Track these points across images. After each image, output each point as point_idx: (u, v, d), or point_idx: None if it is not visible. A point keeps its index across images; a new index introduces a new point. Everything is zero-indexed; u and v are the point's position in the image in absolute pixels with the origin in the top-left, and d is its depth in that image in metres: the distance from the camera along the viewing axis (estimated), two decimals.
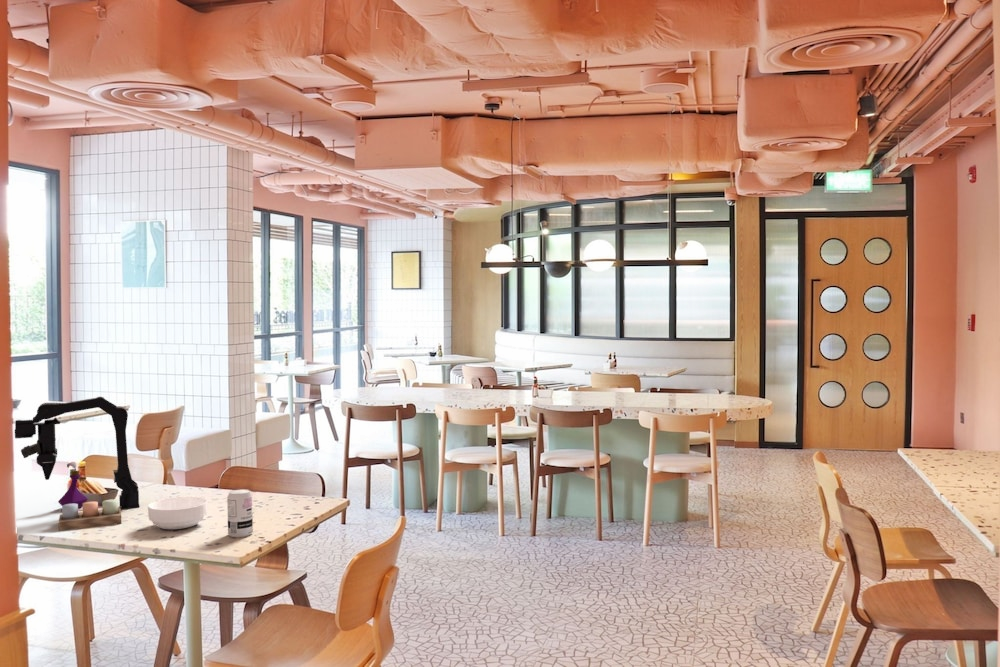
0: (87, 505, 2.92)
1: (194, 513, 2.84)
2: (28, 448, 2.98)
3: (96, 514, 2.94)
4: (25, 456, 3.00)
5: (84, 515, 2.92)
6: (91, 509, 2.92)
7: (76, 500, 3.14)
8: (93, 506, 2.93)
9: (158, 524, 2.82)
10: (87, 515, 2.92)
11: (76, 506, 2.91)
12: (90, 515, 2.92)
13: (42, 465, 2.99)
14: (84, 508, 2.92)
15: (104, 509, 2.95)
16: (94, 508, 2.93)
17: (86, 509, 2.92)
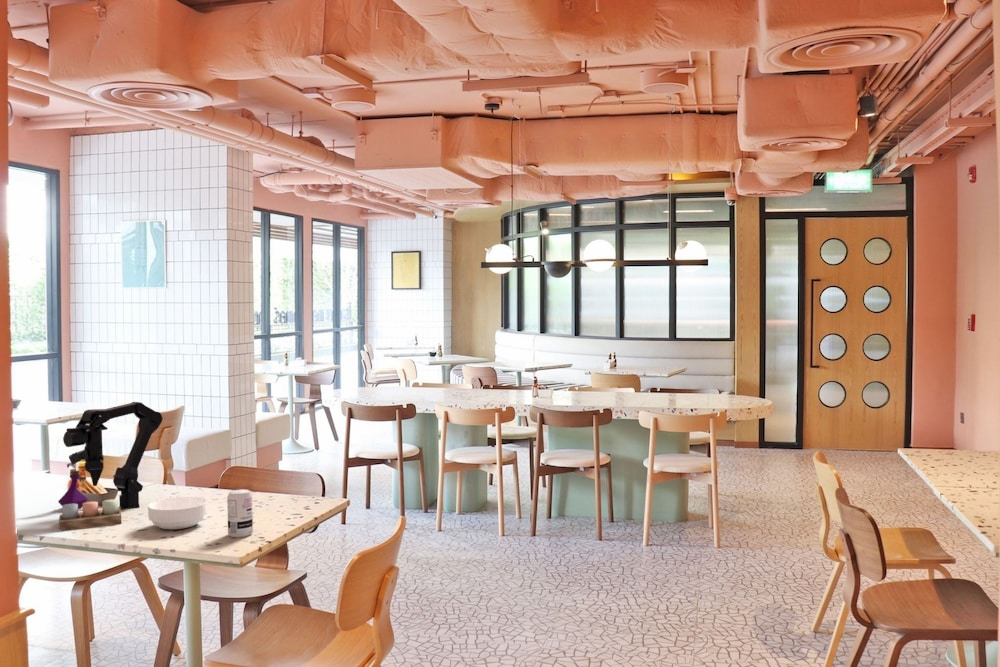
0: (87, 505, 2.92)
1: (194, 513, 2.84)
2: (76, 455, 2.99)
3: (96, 514, 2.94)
4: (73, 463, 3.00)
5: (84, 515, 2.92)
6: (91, 509, 2.92)
7: (76, 500, 3.14)
8: (93, 506, 2.93)
9: (158, 524, 2.82)
10: (87, 515, 2.92)
11: (76, 506, 2.91)
12: (90, 515, 2.92)
13: (90, 471, 2.99)
14: (84, 508, 2.92)
15: (104, 509, 2.95)
16: (94, 508, 2.93)
17: (86, 509, 2.92)
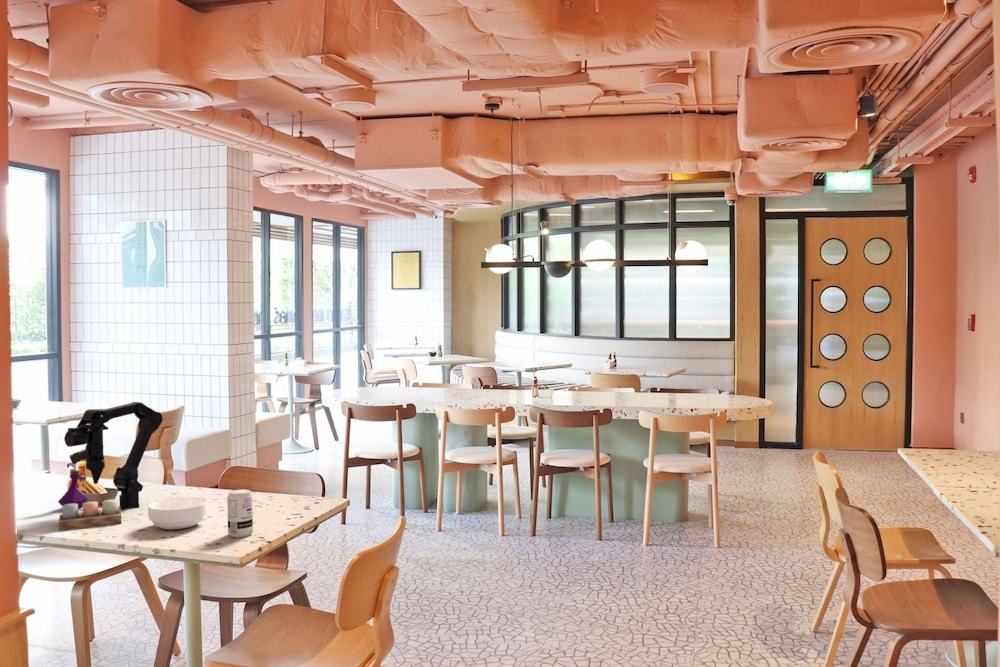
0: (87, 505, 2.92)
1: (194, 513, 2.84)
2: (77, 454, 2.99)
3: (96, 514, 2.94)
4: (74, 462, 3.00)
5: (84, 515, 2.92)
6: (91, 509, 2.92)
7: (76, 500, 3.14)
8: (93, 506, 2.93)
9: (158, 524, 2.82)
10: (87, 515, 2.92)
11: (76, 506, 2.91)
12: (90, 515, 2.92)
13: (91, 469, 3.03)
14: (84, 508, 2.92)
15: (104, 509, 2.95)
16: (94, 508, 2.93)
17: (86, 509, 2.92)
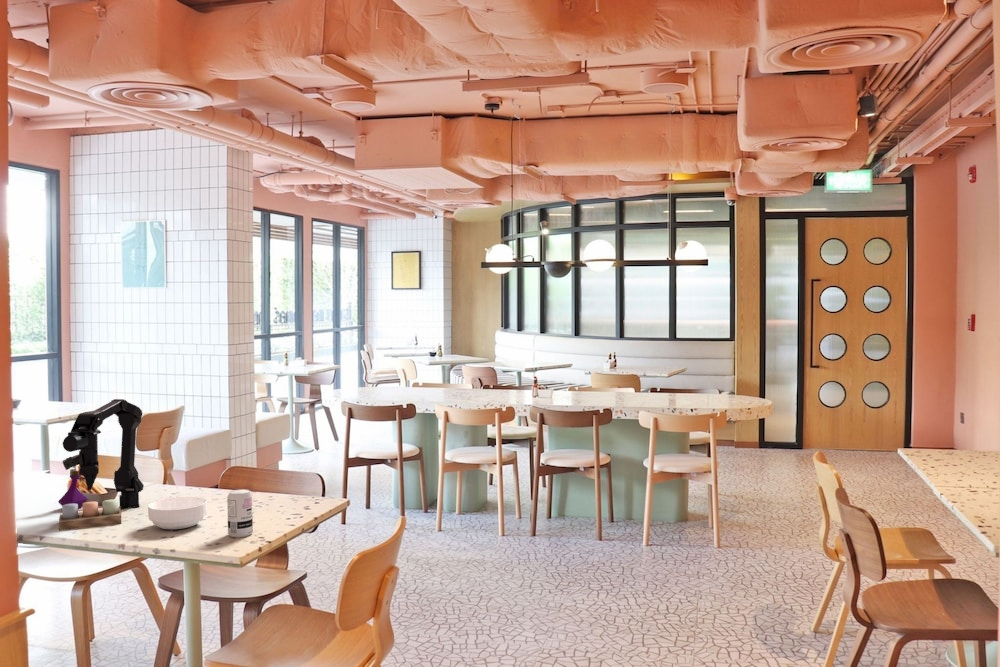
0: (87, 505, 2.92)
1: (194, 513, 2.84)
2: (70, 459, 2.88)
3: (96, 514, 2.94)
4: (67, 468, 2.89)
5: (84, 515, 2.92)
6: (91, 509, 2.92)
7: (76, 500, 3.14)
8: (93, 506, 2.93)
9: (158, 524, 2.82)
10: (87, 515, 2.92)
11: (76, 506, 2.91)
12: (90, 515, 2.92)
13: (85, 475, 2.92)
14: (84, 508, 2.92)
15: (104, 509, 2.95)
16: (94, 508, 2.93)
17: (86, 509, 2.92)
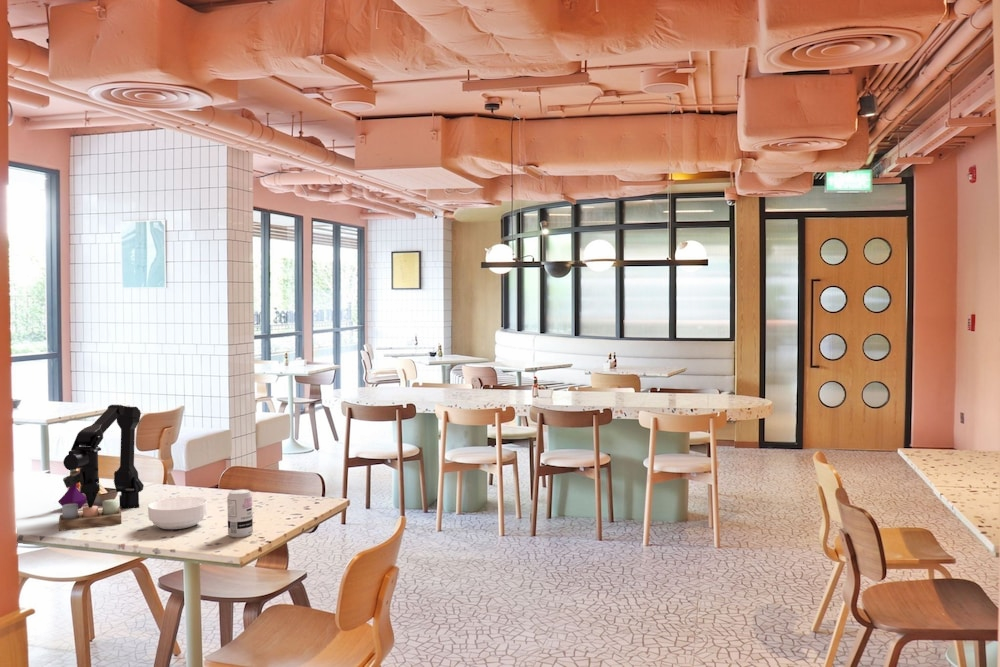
0: (87, 509, 2.92)
1: (194, 513, 2.84)
2: (71, 477, 2.87)
3: None
4: (68, 486, 2.89)
5: None
6: (91, 513, 2.92)
7: (76, 500, 3.14)
8: (93, 510, 2.93)
9: (158, 524, 2.82)
10: None
11: (76, 506, 2.91)
12: None
13: (85, 493, 2.92)
14: (84, 512, 2.92)
15: (104, 509, 2.95)
16: (94, 512, 2.93)
17: (86, 513, 2.92)
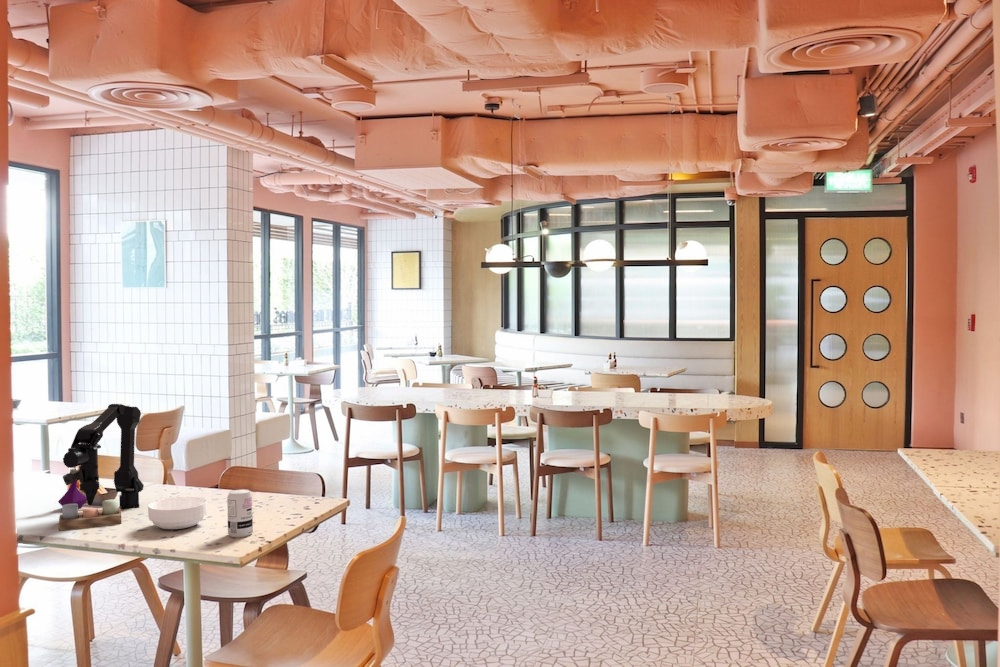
0: (87, 512, 2.92)
1: (194, 513, 2.84)
2: (71, 475, 2.87)
3: None
4: (67, 483, 2.89)
5: None
6: (91, 516, 2.92)
7: (76, 500, 3.14)
8: (93, 513, 2.93)
9: (158, 524, 2.82)
10: None
11: (76, 506, 2.91)
12: None
13: (85, 490, 2.91)
14: (84, 515, 2.92)
15: (104, 509, 2.95)
16: (94, 514, 2.93)
17: (86, 516, 2.92)
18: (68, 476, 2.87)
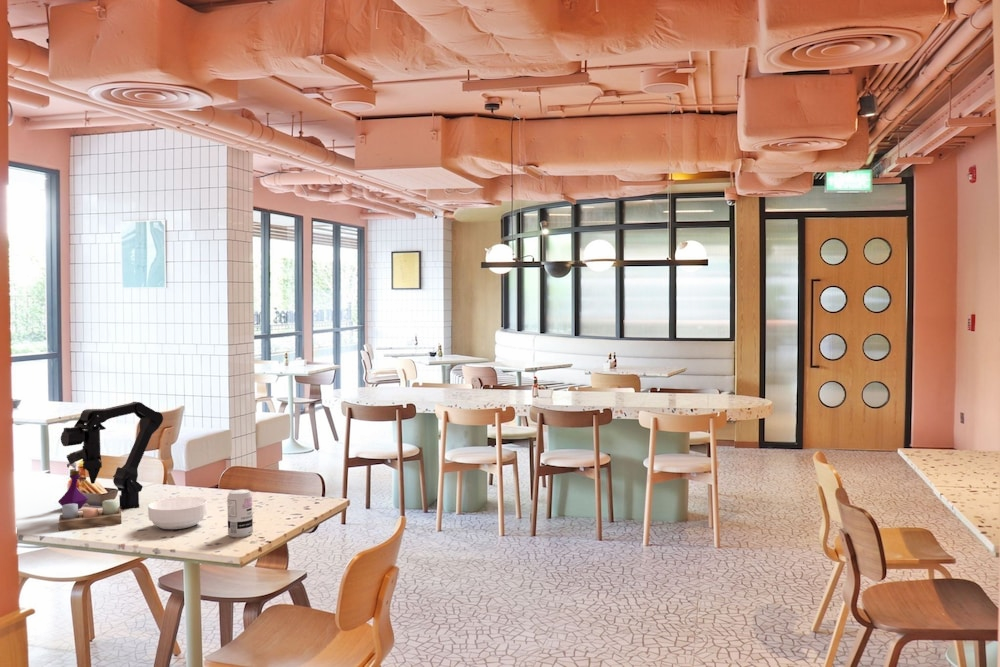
0: (87, 512, 2.92)
1: (194, 513, 2.84)
2: (74, 454, 2.99)
3: None
4: (71, 462, 3.00)
5: None
6: (91, 516, 2.92)
7: (76, 500, 3.14)
8: (93, 513, 2.93)
9: (158, 524, 2.82)
10: None
11: (76, 506, 2.91)
12: None
13: (88, 469, 3.03)
14: (84, 515, 2.92)
15: (104, 509, 2.95)
16: (94, 514, 2.93)
17: (86, 516, 2.92)
18: (72, 455, 2.99)
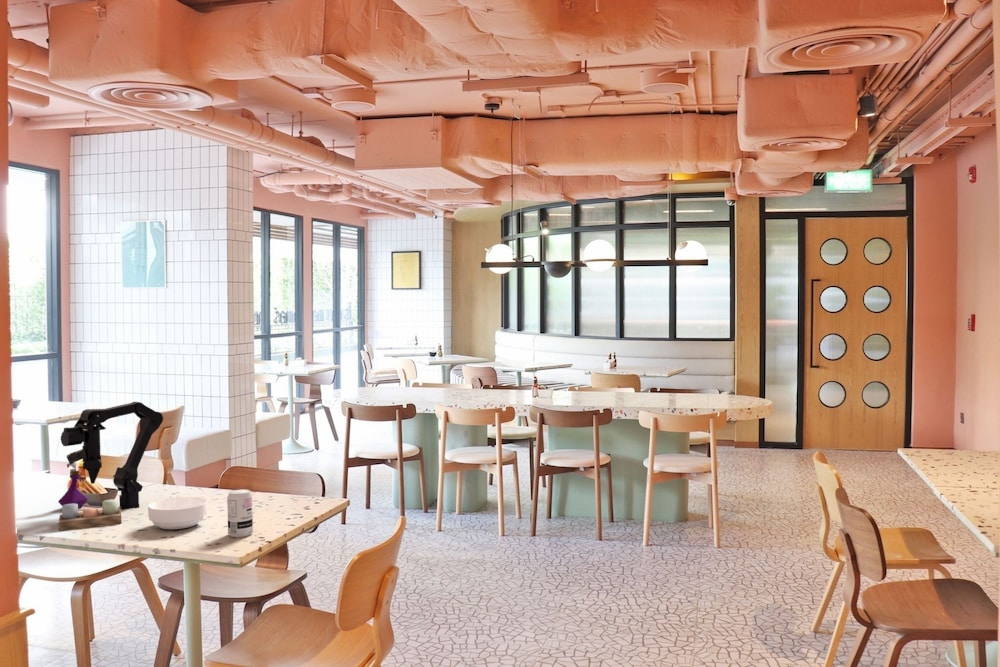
0: (87, 512, 2.92)
1: (194, 513, 2.84)
2: (74, 454, 2.99)
3: None
4: (71, 462, 3.00)
5: None
6: (91, 516, 2.92)
7: (76, 500, 3.14)
8: (93, 513, 2.93)
9: (158, 524, 2.82)
10: None
11: (76, 506, 2.91)
12: None
13: (88, 469, 3.03)
14: (84, 515, 2.92)
15: (104, 509, 2.95)
16: (94, 514, 2.93)
17: (86, 516, 2.92)
18: (72, 455, 2.99)
